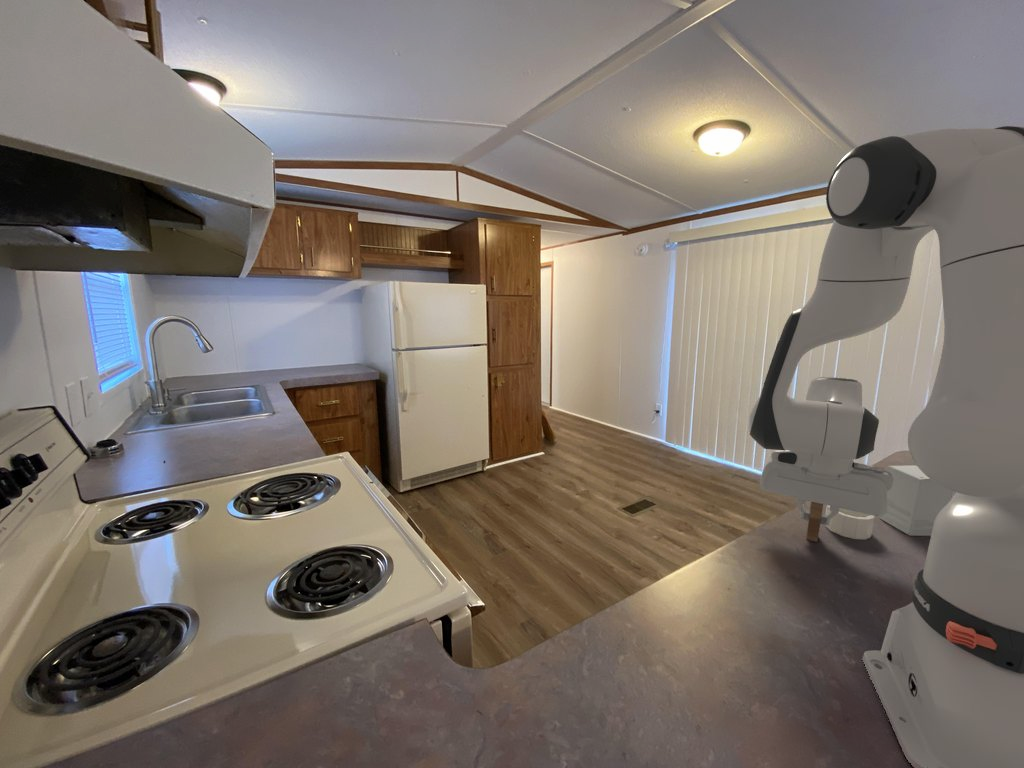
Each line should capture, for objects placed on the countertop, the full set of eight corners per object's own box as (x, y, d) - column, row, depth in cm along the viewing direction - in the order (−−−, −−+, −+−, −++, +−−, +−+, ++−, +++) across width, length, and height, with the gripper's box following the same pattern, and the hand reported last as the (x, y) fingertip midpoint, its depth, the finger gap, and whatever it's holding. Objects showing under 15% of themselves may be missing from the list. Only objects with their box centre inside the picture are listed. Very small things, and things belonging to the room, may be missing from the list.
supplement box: (945, 536, 83) (958, 479, 81) (908, 536, 83) (920, 479, 81) (911, 517, 90) (922, 464, 88) (877, 517, 91) (887, 464, 88)
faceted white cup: (872, 543, 81) (876, 523, 80) (824, 531, 85) (827, 511, 84) (868, 526, 87) (871, 507, 86) (823, 516, 91) (826, 497, 90)
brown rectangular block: (817, 542, 82) (824, 496, 80) (806, 539, 83) (813, 493, 81) (817, 535, 84) (824, 490, 82) (806, 532, 85) (813, 488, 83)
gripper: (892, 464, 76) (880, 530, 79) (765, 442, 88) (758, 501, 91) (898, 475, 71) (884, 546, 74) (763, 451, 83) (755, 513, 86)
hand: (814, 521), depth 83 cm, fingers closed on brown rectangular block, 2 cm apart
